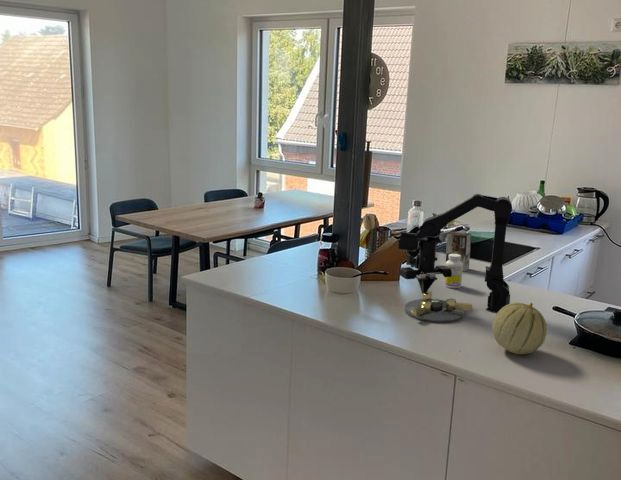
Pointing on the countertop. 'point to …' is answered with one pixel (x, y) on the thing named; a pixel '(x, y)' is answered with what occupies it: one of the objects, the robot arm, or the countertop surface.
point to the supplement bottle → (454, 271)
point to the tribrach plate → (434, 312)
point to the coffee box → (459, 247)
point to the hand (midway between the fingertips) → (423, 294)
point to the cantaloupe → (519, 328)
